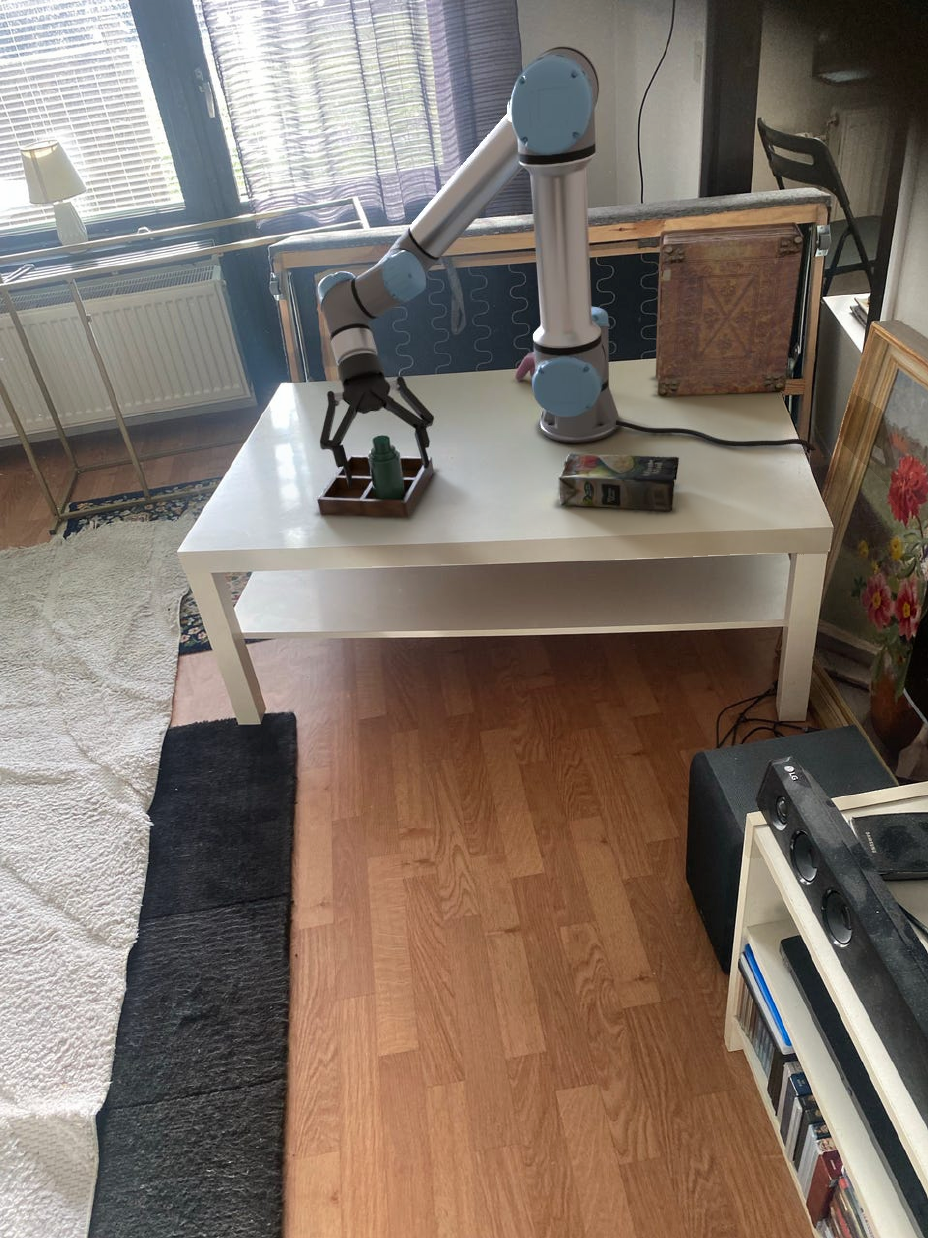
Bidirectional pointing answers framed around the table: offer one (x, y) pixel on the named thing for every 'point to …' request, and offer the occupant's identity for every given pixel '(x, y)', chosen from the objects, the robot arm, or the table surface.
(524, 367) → the video game controller
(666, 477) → the juice carton
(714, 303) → the book
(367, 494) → the tray
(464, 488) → the table surface
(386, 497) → the green bottle
